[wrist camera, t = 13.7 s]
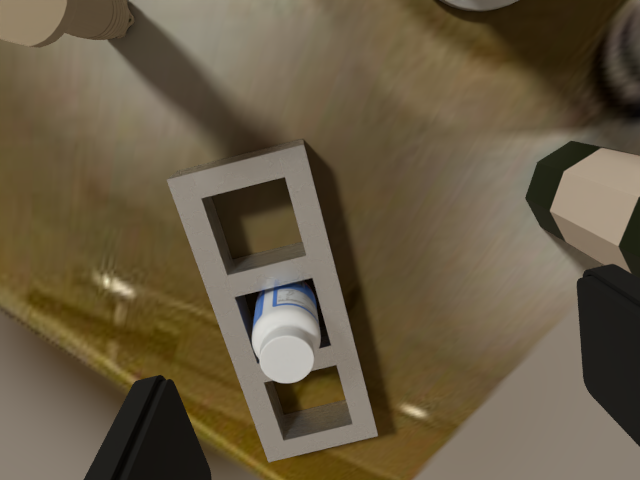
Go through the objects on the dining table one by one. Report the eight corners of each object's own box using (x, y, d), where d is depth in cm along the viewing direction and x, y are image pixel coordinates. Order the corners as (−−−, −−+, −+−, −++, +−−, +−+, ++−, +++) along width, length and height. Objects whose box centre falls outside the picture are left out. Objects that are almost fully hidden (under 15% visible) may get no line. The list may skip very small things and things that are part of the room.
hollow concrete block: (177, 170, 39) (166, 179, 36) (302, 138, 39) (303, 144, 35) (270, 435, 48) (268, 462, 45) (371, 410, 48) (378, 435, 44)
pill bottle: (279, 337, 45) (276, 405, 35) (244, 295, 43) (231, 354, 34) (328, 306, 44) (337, 368, 35) (294, 262, 42) (295, 314, 33)
